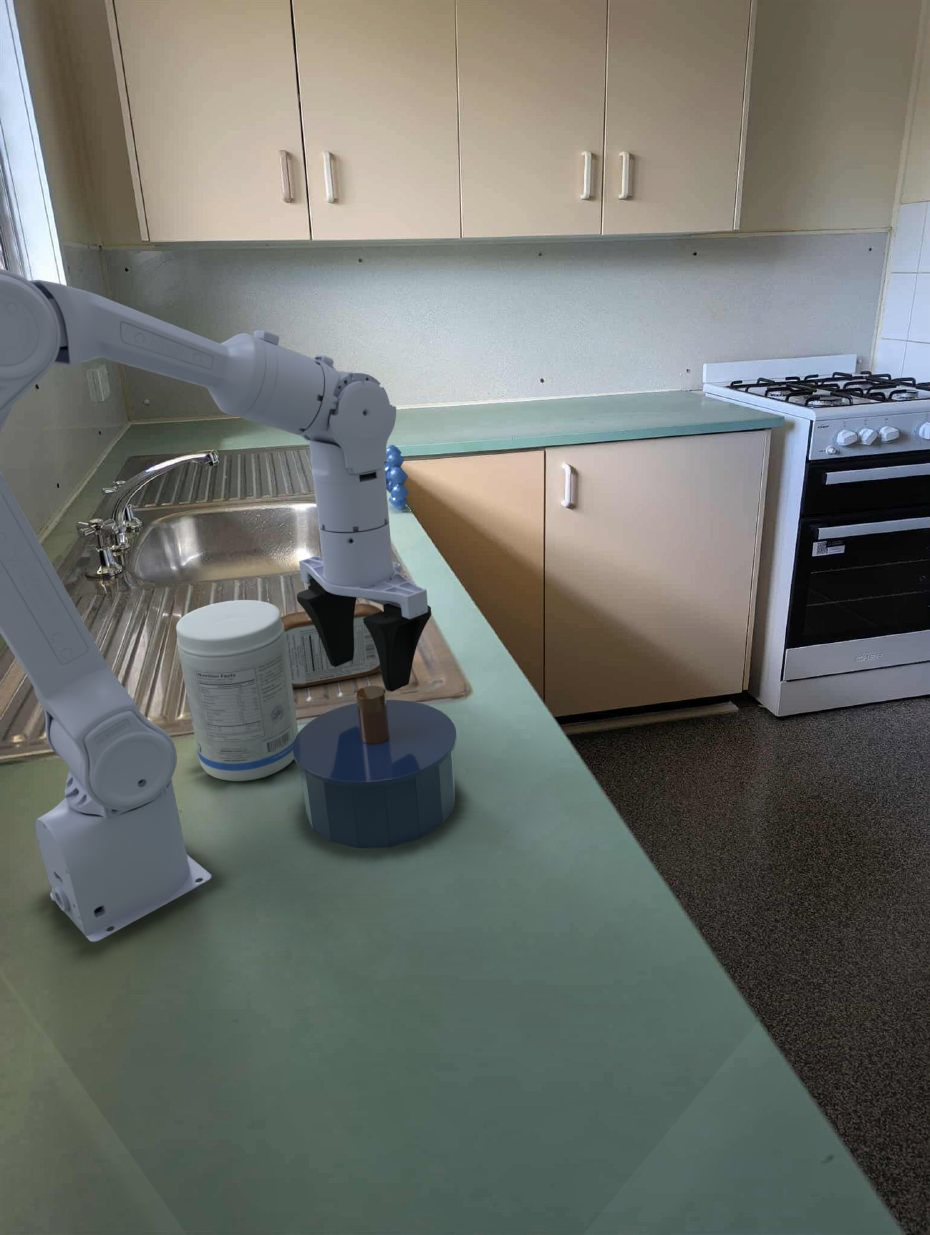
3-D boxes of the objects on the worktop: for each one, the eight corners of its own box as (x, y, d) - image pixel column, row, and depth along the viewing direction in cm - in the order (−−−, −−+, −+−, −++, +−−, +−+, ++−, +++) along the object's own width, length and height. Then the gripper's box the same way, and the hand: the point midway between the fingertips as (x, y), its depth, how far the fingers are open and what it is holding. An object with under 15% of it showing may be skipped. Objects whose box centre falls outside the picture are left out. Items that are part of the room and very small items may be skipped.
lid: (364, 815, 64) (357, 752, 62) (262, 753, 73) (253, 697, 71) (490, 743, 73) (488, 686, 71) (385, 696, 82) (380, 644, 80)
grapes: (372, 503, 175) (366, 442, 170) (405, 499, 176) (400, 439, 172) (380, 517, 164) (374, 453, 160) (415, 513, 165) (410, 450, 161)
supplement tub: (209, 738, 88) (185, 602, 83) (304, 729, 89) (286, 594, 83) (191, 790, 79) (162, 642, 74) (297, 781, 80) (276, 632, 74)
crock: (372, 874, 67) (364, 803, 65) (279, 812, 75) (269, 747, 73) (485, 803, 75) (482, 738, 73) (390, 754, 84) (384, 694, 81)
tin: (394, 662, 103) (388, 595, 100) (401, 672, 100) (395, 604, 97) (265, 685, 99) (255, 616, 96) (269, 697, 96) (258, 626, 93)
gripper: (451, 526, 69) (460, 681, 74) (338, 500, 78) (353, 639, 83) (382, 548, 64) (397, 712, 69) (272, 517, 74) (291, 663, 79)
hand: (369, 674), depth 76 cm, fingers open, 7 cm apart
